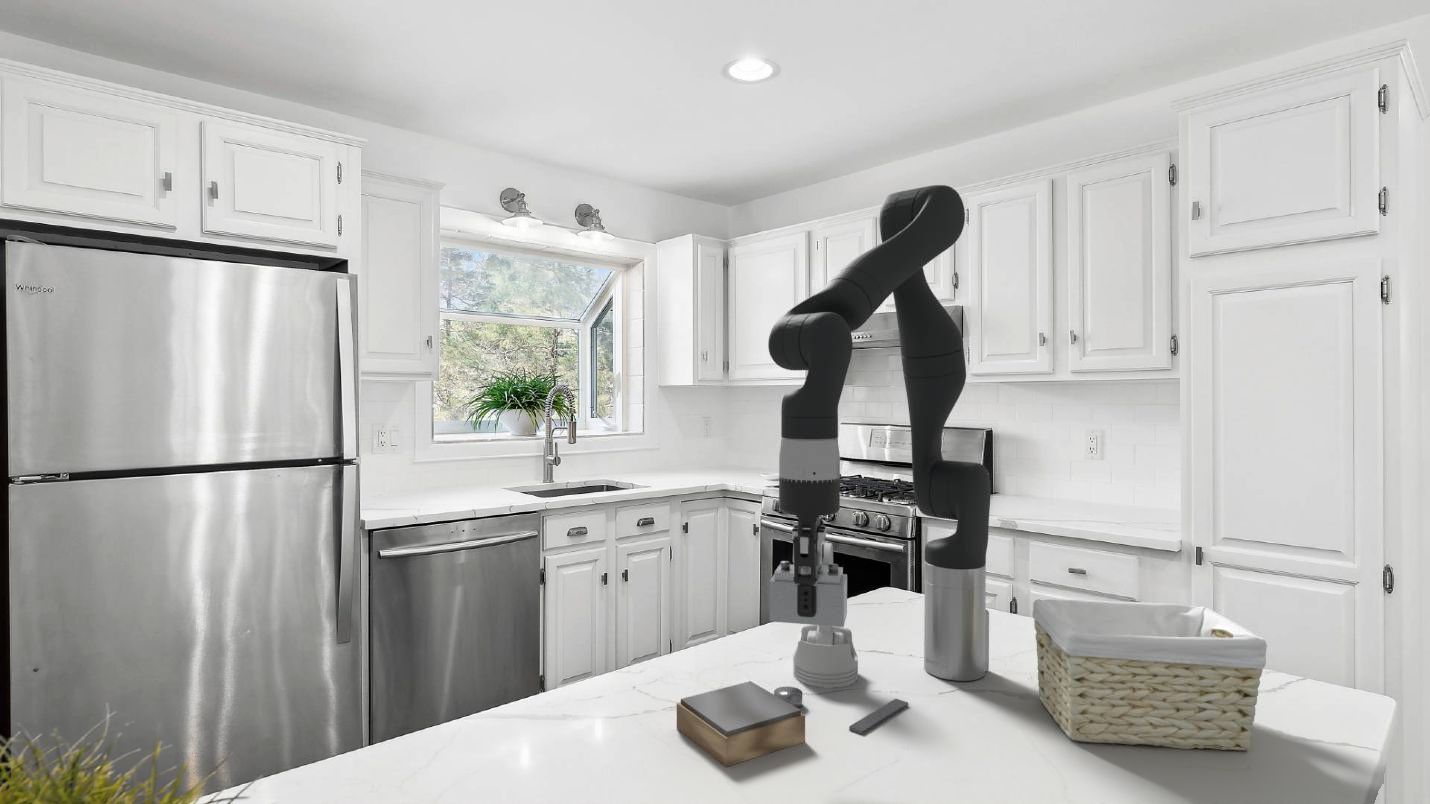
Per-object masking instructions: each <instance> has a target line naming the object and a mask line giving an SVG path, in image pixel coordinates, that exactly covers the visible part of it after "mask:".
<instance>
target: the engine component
mask: <svg viewBox="0 0 1430 804" xmlns="http://www.w3.org/2000/svg"><path fill="white" fill-rule="evenodd" d="M833 546H834V545H833V543H831V542H824V558H823V562H822V565H821V566H828V564H834V548H833ZM792 654H793V655H792V665H793V666H792V667H793V668H792V670H793V671H792V675H794V676H793V678H794V679H795V678H796V679H795V680H796V681H798V680H799V681H801V682H802V684H804V683H805V684H804V685H806V684H808V685H807V686H810V687H815V686H817V687H816V688H822V687H826V688H825V689H834V688H833V687H838V688H843V687H842V686H844V687H848V686H851V685H853V684H854V683H856V682H857V681H858V679H859V666H858V665H859V657H858V654H857V652H856V649H855V646H854V642H853V633H852V631H851V629H850V628H848V627H837V626H824V625H811V624H806V625H804V626H803V627H802V628H801V636H800V640H799V641H798V643H797V647H796V649H795V650H794V651H793V653H792ZM856 680H857V681H856ZM799 681H798V682H799ZM855 681H856V682H855ZM801 682H800V683H801ZM852 683H853V684H852ZM850 684H851V685H850ZM828 687H830V688H828Z"/></svg>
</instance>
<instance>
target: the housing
mask: <svg viewBox="0 0 1430 804" xmlns="http://www.w3.org/2000/svg"><path fill="white" fill-rule="evenodd" d="M843 570H844V567H843V566H841V567H840V566H839V564H837V563H833V564H828V566H821V567H819V568H818V569H817V579H818V584H817V586H816V614H815V616H814V617H801V616H799V615H798V613H797V585H796V584H795V582H794V580H793V579H794V564H791V562H790V561H789V560H781V561H780V563H779V565H778V566H777V568H776V569H775V570H774V573H773V575H772V577H771V578H770V580H769V622H773V623H784V624H785V623H786V624H788V623H789V624H796V625H797V624H798V625H824V626H837V627H844V626H845V624H846V619H847V614H848V574H847V573H845V574H844V573H843V572H844V571H843ZM801 574H811V568H810V567H802V568H801Z"/></svg>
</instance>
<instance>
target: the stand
mask: <svg viewBox="0 0 1430 804" xmlns="http://www.w3.org/2000/svg"><path fill="white" fill-rule="evenodd" d="M676 729H677V730H678V731H679V732H681V733H682V734H683V735H684V736H686V737H687V738H688V739H690V741H692V742H694V743H695V744H696V745H697V746H698V747H699V748H701V749H702V750H703V751H705V752H706V753H707V754H709V756H711V757H713V758H714V759H715V760H717V761H718V762H719V763H720V764H722V765H723V766H724V767H726V768H727V767H730V766H734V765H737V764H740V763H743V762H746V761H748V760H752V759H755V758H756V759H757V758H759V757H761V756H765V755H768V754H771V753H773V752H776V751H777V752H778V751H780V750H784V749H787V748H790V747H792V746H795V745H799V744H802V743H805V742H806V714H804V713H802V710H801V709H798V708H796V707H795V706H793V705H791V704H789V703H788V702H786V701H784V700H782V699H781V698H779V697H777V696H775V695H774V693H772V692H770V691H768V690H767V689H765V688H763V687H762V686H760V685H758V684H757V683H755V682H752V681H750V680H749V681H746V682H742V683H739V684H735V685H728V686H726V687H722V688H718V689H714V690H711V691H710V690H709V691H707V692H703V693H698V694H695V695H691V696H686V697H683V698H680V701H679V702H677V703H676Z"/></svg>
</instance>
